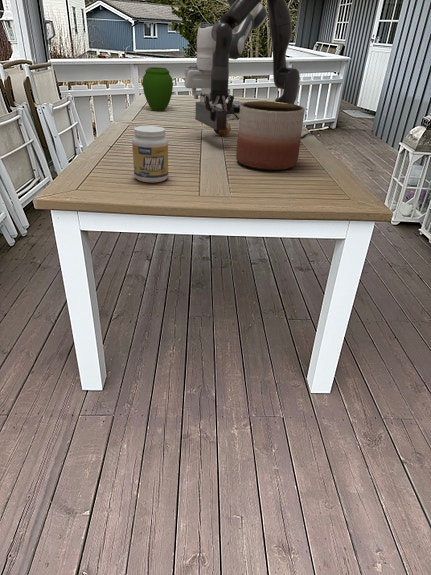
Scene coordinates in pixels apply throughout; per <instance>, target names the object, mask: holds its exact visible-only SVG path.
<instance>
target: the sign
mask: <svg viewBox="0 0 431 575" xmlns="http://www.w3.org/2000/svg"><path fill="white" fill-rule="evenodd" d="M227 103H228V101H226V105H227ZM241 103H244V101H243V102H242V101H239V100H233V103H232V107H231V108H232V109H234V113H238V114H240V104H241Z"/></svg>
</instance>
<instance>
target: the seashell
mask: <svg viewBox="0 0 431 575" xmlns="http://www.w3.org/2000/svg"><path fill="white" fill-rule="evenodd" d="M213 131H214V133H215V134H216V135H218V136H226V135H228V134H229V133H230V132H231V131H232V127H231V124H230V123H229V122H228V120H226V130H215V129H213Z"/></svg>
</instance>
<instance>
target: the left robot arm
mask: <svg viewBox="0 0 431 575" xmlns="http://www.w3.org/2000/svg"><path fill="white" fill-rule="evenodd" d="M235 1H236V0H226V2H227V4H228V5H229V8H231V6H232V5H233V4H234V3H235ZM267 15H268V10H266V8H265V7H264V6H263V5H262V3H261V1H260V2H259V3H258V4H257V6H256V7H255V8H254V9H253V10H252V11H251V13H250V14H249V15H248V16H247V17H246V19H245V20H244V21H243V22H242V23H241V24H240V25H239V26H237V27H235V28H234V29H233V30H232V34H233V37H232V44H231V49H230V53H229V60H238V59H239V58H240V57H241V56H242V54H243V52H244V50H245V46H246V43H247V41H248V39H249V37H250V35H251V33H252V30H253V29H258V28H260V27H261V26H262V25H263V24H264V23H265V21H266V17H267ZM214 24H215V23H210V22H209V23H202V24H200V25H199V26H198V28H197V35H196V49H197V53H196V65H190V64H189V65H187V66H185V68H184V84H183V85H184V87H185V88H186V89H191V92H192V94H193V99H194V100H198V99H199V102H205V101H204V96H207V95H210V93H211V70H212V55H213V52H214V50H215V46H216V41H214V40H213V38H212V36H211V31H212V28H213V26H214ZM197 89H200V94H198V93H197V92H196V91H197ZM209 103H210V104H211V103H212V99H211V98H210V100H209ZM216 107H219V108H221V109H222V106H221V104H217V106H216ZM226 107H227V106H226ZM232 115H234V117H235V118H236V119H237V120H239V116H238V115H237V114H236V112H234V109H232V108H231V110H228V111H227V119H226V121H231V120H234V117H233V116H232Z"/></svg>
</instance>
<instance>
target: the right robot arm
mask: <svg viewBox="0 0 431 575" xmlns="http://www.w3.org/2000/svg"><path fill="white" fill-rule="evenodd" d="M261 1H262V0H236V1H235V3H234V4H233V5H232V6H231V7H229V9H228V10H227V11H226V12H225V13H224V14H223V15H222V16H221V17H220V18H219V19H218V20H217V21H215V23H213V24H214V26H213V28H212V31H211V36H212V38H213V40H214V41H216V46H215V50H214V52H213V55H212V70H211V93H210V95H207V96H204V101H205V106H206V110H209V111H210V119H211V121H214V113H215V112H214V111H215V108H216V106H217V104H221V106H222V109H224V110H226V111H228V110H231V107H232V103H233V101H235V96H234V95H232V94H229V92H228V91H229V81H230V80H229V79H230V78H229V76H230V68H229V67H230V66H229V65H230V59H229V53H230V49H231V44H232V37H233V34H232V30H233V29H234V28H235V27H237V26H239V25H240V24H241V23H242V22H243V21H244V20H245V19H246V17H247V16H248V15H249V14H250V13H251V11H252V10H253V9H254V8H255V7H256V6H257V4H258V3H259V2H260V3H261ZM266 4H267V15H268V23H269V33H270V40H271V51H272V52H271V53H272V74H273V75H272V77H273V84H274V86H275V87H276V88H277V89H279V90H282V91H283V92H282V94H281V95H280V96H278V97H276V98H275V99H274V102H282V103H289V104H295V103H296V100H297V97H298V91H299V86H300V82H301V75H300V70H298V69H297V68H294V67H289V66H287V51H288V48H289V46H290V42H291V40H292V37H293V36H292V35H293V25H292V24H293V23H292V15H291V12H290V8H289V5H288V4H287V1H286V0H266ZM210 98H211V99H212V103H211V107H210V103H209V100H210ZM226 102H227V105H226ZM226 106H227V107H226ZM309 132H310V131H309ZM309 132H307V133H304V134H303V135H301V139H304V138H305V137H306V136H308V135H311V136H314V133H313V132H312V131H311V132H310V133H309Z"/></svg>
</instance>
